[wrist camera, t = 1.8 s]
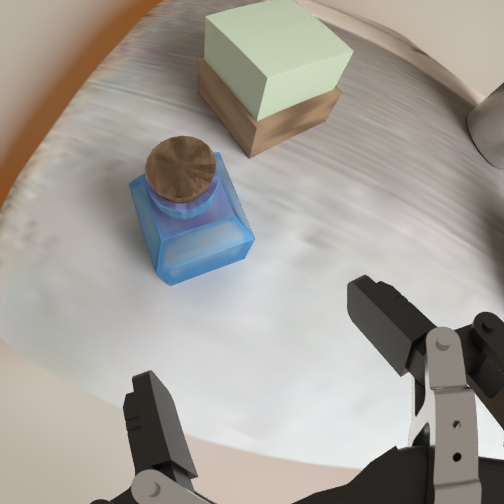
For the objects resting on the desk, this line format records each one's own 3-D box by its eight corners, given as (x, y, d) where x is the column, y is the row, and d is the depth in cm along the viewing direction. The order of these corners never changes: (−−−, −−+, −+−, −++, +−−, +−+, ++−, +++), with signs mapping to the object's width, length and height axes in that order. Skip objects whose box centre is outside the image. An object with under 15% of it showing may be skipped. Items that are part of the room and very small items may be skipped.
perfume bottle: (146, 214, 25) (102, 135, 13) (217, 189, 26) (223, 96, 14) (170, 286, 24) (132, 255, 12) (244, 258, 25) (272, 205, 13)
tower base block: (272, 64, 30) (280, 31, 25) (324, 122, 29) (341, 92, 24) (198, 93, 28) (197, 58, 23) (249, 159, 27) (256, 128, 22)
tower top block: (278, 35, 25) (289, -3, 20) (333, 89, 24) (353, 51, 19) (204, 59, 23) (205, 16, 18) (256, 121, 22) (267, 77, 18)
